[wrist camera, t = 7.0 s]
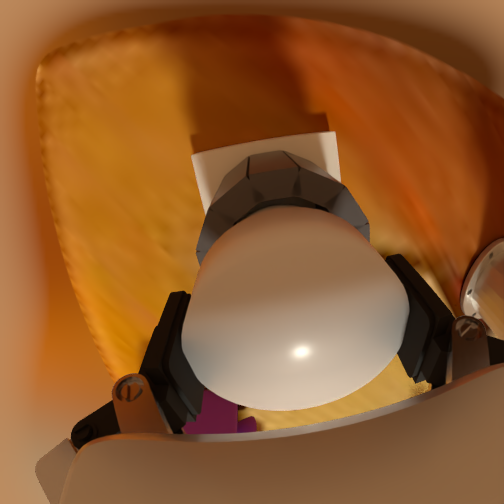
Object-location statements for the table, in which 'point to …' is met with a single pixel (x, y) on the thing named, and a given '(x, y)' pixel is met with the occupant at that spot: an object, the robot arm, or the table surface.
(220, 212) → the lens barrel
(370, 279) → the glossy white sphere
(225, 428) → the toy camera
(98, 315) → the table surface
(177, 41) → the table surface
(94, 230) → the table surface
